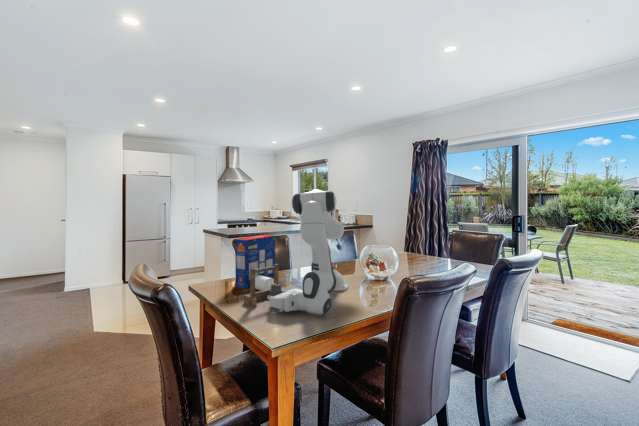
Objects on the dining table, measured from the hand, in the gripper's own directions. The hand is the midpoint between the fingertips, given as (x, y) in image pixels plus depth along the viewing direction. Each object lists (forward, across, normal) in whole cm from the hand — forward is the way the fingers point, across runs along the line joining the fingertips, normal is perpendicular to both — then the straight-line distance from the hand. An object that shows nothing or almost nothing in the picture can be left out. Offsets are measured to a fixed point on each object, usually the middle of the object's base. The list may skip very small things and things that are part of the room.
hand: (275, 294), depth 152 cm
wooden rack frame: (+9, -1, +6) cm, 11 cm away
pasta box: (+37, -26, +6) cm, 46 cm away
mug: (+21, -18, +6) cm, 28 cm away
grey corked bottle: (-1, 0, +6) cm, 6 cm away
